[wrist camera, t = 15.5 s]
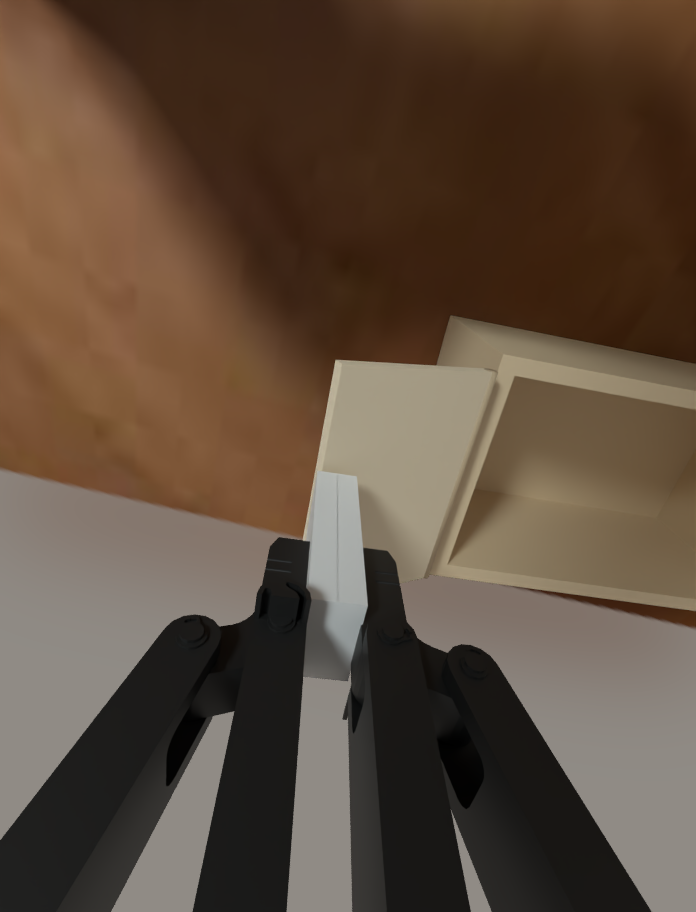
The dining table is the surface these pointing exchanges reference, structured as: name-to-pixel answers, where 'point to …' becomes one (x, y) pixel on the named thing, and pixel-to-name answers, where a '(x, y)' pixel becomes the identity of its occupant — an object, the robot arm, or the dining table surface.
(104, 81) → the dining table surface
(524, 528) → the carton
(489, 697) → the robot arm
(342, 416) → the flap
